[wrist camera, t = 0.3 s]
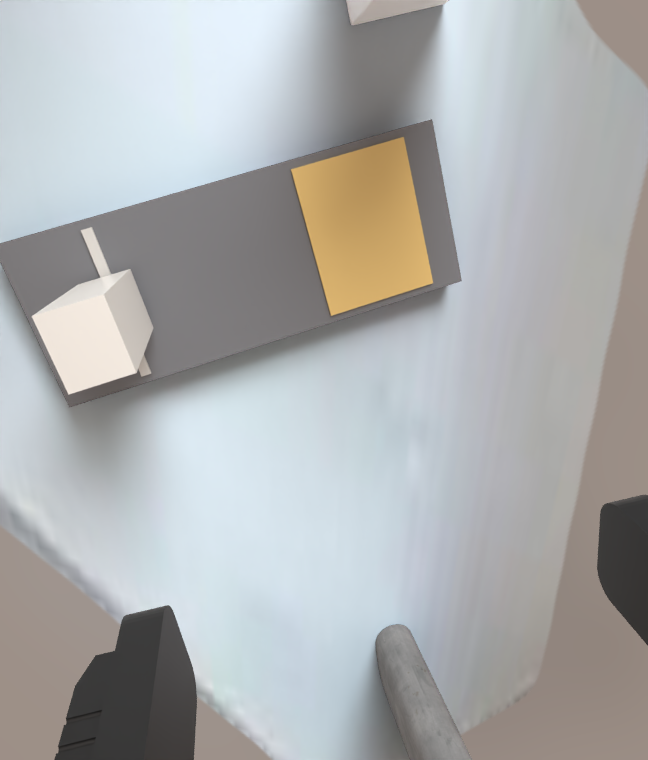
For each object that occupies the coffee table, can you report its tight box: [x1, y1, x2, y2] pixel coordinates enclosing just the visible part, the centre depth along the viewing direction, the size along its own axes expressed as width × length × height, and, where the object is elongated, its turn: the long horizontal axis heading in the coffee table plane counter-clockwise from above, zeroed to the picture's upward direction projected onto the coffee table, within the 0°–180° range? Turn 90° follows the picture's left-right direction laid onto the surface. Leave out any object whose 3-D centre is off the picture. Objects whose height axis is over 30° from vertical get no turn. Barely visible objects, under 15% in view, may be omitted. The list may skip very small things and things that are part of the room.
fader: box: [32, 269, 153, 395], centre depth 28 cm, size 4×3×9 cm
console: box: [0, 119, 462, 407], centre depth 34 cm, size 10×26×2 cm, turn 106°
